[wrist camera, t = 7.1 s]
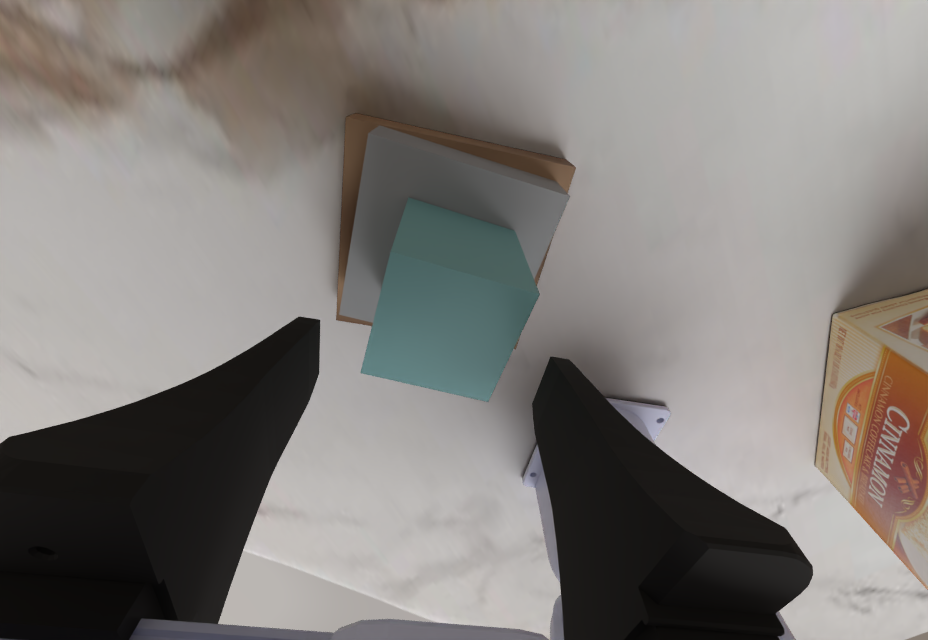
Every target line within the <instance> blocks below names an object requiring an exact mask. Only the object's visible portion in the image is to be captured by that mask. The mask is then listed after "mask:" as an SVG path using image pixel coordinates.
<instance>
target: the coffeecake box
mask: <svg viewBox="0 0 928 640" xmlns="http://www.w3.org/2000/svg"><path fill="white" fill-rule="evenodd" d="M815 467H816V468H818V469H819V470H820V472H821V473H822V474H823V475H824V476H825V477H826V478H827V479H828V480H829V481H830V482H831V484H832V485H833V486H834V487H835V488H836V489H837V490H838V491H839V492H840V494H841V495H842V496H843V497H844V498H845V499H846V500H847V501H848V502H849V503H850V504H851V506H852V507H853V508H854V509H855V510H856V511H857V512H858V513H859V514H860V515H861V517H862V518H863V519H864V520H865V521H866V522H867V523H868V524H869V525H870V527H871V528H872V529H873V530H874V531H875V532H876V533H877V534H878V535H879V536H880V538H881V539H882V540H883V541H884V542H885V543H886V544H887V545H888V546H889V548H890V549H891V550H892V551H893V552H894V553H895V554H896V555H897V556H898V558H899V559H900V560H901V561H902V562H903V563H904V564H905V565H906V567H907V568H908V569H909V570H910V571H911V572H912V573H913V574H914V575H915V576H916V578H917V579H918V580H919V581H920V582H921V583H922V584H923V585H924V586H925V588H926V589H927V590H928V289H926V290H923V291H920V292H916V293H913V294H909V295H906V296H902V297H897V298H893V299H888V300H884V301H880V302H875V303H871V304H867V305H863V306H860V307H857V308H853V309H850V310H846V311H842V312H839V313H835V314H834V315H833V318H832V325H831V334H830V343H829V352H828V359H827V368H826V377H825V386H824V394H823V403H822V412H821V420H820V429H819V438H818V446H817V454H816V462H815Z"/></svg>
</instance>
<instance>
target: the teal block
mask: <svg viewBox="0 0 928 640" xmlns="http://www.w3.org/2000/svg"><path fill="white" fill-rule="evenodd" d="M539 295H540V294H539V291H538V289H537V286H536V284H535V281H534V278H533V276H532V273H531V271H530V268H529V266H528V263H527V260H526V258H525V255H524V253H523V250H522V248H521V245H520V242H519V240H518V237H517V235H516V232H515V231H514V230H511V229H508V228H504V227H501V226H498V225H495V224H492V223H489V222H485V221H482V220H479V219H476V218H473V217H469V216H466V215H463V214H460V213H457V212H454V211H450V210H447V209H444V208H441V207H438V206H435V205H431V204H428V203H425V202H422V201H419V200H415V199H412V198H409V197H408V200H407V203H406V206H405V209H404V213H403V216H402V219H401V222H400V225H399V228H398V231H397V234H396V237H395V240H394V243H393V246H392V249H391V252H390V256H389V260H388V264H387V268H386V272H385V276H384V280H383V284H382V288H381V292H380V296H379V300H378V305H377V309H376V313H375V317H374V321H373V325H372V329H371V333H370V337H369V341H368V345H367V349H366V353H365V357H364V361H363V365H362V369H361V373H363V374H367V375H372V376H376V377H381V378H385V379H389V380H394V381H398V382H403V383H407V384H411V385H416V386H420V387H425V388H429V389H433V390H438V391H442V392H447V393H451V394H455V395H460V396H464V397H469V398H473V399H477V400H482V401H486V402H488V401H489V399H490V397H491V395H492V393H493V391H494V389H495V386H496V384H497V382H498V380H499V378H500V376H501V374H502V372H503V370H504V368H505V366H506V363H507V361H508V359H509V357H510V355H511V353H512V351H513V349H514V347H515V345H516V343H517V341H518V338H519V336H520V334H521V332H522V330H523V328H524V326H525V324H526V322H527V320H528V318H529V316H530V313H531V311H532V309H533V307H534V305H535V303H536V301H537V299H538V297H539Z"/></svg>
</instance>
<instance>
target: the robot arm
mask: <svg viewBox="0 0 928 640" xmlns="http://www.w3.org/2000/svg"><path fill="white" fill-rule="evenodd" d="M319 350H320V320H318V319H311V318H305V317H298V318H296V319H295V320H293V321H292V322H290V323H289V324H287V325H285V326H284V327H282V328H281V329H279V330H278V331H276V332H275V333H273V334H272V335H270V336H269V337H267V338H266V339H264V340H263V341H261V342H260V343H258V344H256V345H255V346H253V347H252V348H250V349H248V350H247V351H245V352H243V353H241V354H240V355H238V356H236V357H234V358H233V359H231V360H229V361H227V362H226V363H224V364H222V365H220V366H218V367H216V368H215V369H213V370H211V371H209V372H207V373H205V374H203V375H200V376H198V377H196V378H194V379H192V380H189V381H187V382H185V383H183V384H180V385H178V386H176V387H173V388H171V389H168V390H165V391H163V392H160V393H158V394H155V395H152V396H150V397H147V398H145V399H142V400H140V401H137V402H134V403H131V404H128V405H125V406H122V407H119V408H116V409H113V410H110V411H106V412H103V413H100V414H96V415H93V416H90V417H86V418H83V419H79V420H76V421H72V422H68V423H64V424H60V425H56V426H52V427H48V428H44V429H40V430H36V431H32V432H29V433H25V434H20V435H16V436H11V437H8V438H7V439H6V440H5V441H3V442H2V443H1V444H0V640H549V639H547V638H546V637H545V636H544V635H542V634H538V633H533V632H529V631H524V630H520V629H509V628H496V627H484V626H471V625H459V624H446V623H434V622H421V621H409V620H395V619H379V620H361V621H358V622H355V623H352V624H349V625H347V626H344V627H341V628H339V629H338V630H337V631H336V632H334V633H331V632H317V631H303V630H290V629H277V628H262V627H250V626H237V625H223V624H218V621H219V619H220V616H221V613H222V609H223V607H224V603H225V601H226V598H227V595H228V591H229V588H230V586H231V583H232V580H233V577H234V574H235V571H236V568H237V566H238V563H239V560H240V557H241V554H242V552H243V549H244V546H245V543H246V540H247V538H248V535H249V532H250V530H251V527H252V524H253V522H254V519H255V516H256V514H257V511H258V508H259V506H260V503H261V501H262V498H263V496H264V493H265V490H266V488H267V485H268V483H269V480H270V478H271V476H272V473H273V471H274V469H275V467H276V465H277V463H278V461H279V459H280V457H281V455H282V453H283V451H284V449H285V447H286V445H287V443H288V441H289V440H290V438H291V436H292V434H293V432H294V430H295V428H296V426H297V424H298V422H299V420H300V418H301V416H302V414H303V412H304V410H305V408H306V406H307V404H308V402H309V400H310V397H311V395H312V392H313V389H314V386H315V383H316V380H317V378H318V375H319ZM532 407H533V420H534V429H535V436H536V440H537V445H536V448H535V450H534V453H533V455H532V457H531V460H530V462H529V465H528V467H527V469H526V472H525V474H524V477H523V484H524V485H525V486H527V487H534V488H536V494H537V499H538V505H539V510H540V515H541V521H542V526H543V532H544V537H545V543H546V548H547V553H548V558H549V562H550V565H551V568H552V570H553V572H554V574H555V576H556V577H557V579H558V580H559V582H560V586H561V595H560V596H559V597H558V598H557V599H556V601H555V604H554V608H553V614H552V618H551V624H550V640H796V639H795V638H794V636H793V634H792V633H791V631H790V629H789V628H788V626H787V624H786V623H785V621H784V619H783V618H782V616H781V614H780V613H779V610H781V609H782V608H783V607H784V606H786V605H787V604H788V603H789V602H791V601H792V600H793V599H794V598H796V597H797V596H798V595H799V594H801V593H802V592H803V591H804V590H805V589H806V588H807V587H808V585H809V583H810V581H811V579H812V576H813V568H812V565H811V564H810V562H809V561H808V559H807V558H806V556H805V555H804V554H803V552H802V551H801V549H800V548H799V547H798V545H797V544H796V542H795V541H794V539H793V538H792V537H791V535H790V534H789V532H788V531H787V530H786V529H785V528H784V527H782V526H780V525H779V524H777V523H775V522H773V521H771V520H770V519H768V518H766V517H764V516H762V515H760V514H759V513H757V512H755V511H753V510H751V509H749V508H748V507H746V506H744V505H742V504H740V503H739V502H737V501H735V500H734V499H732V498H731V497H729V496H727V495H726V494H724V493H722V492H721V491H719V490H718V489H716V488H714V487H713V486H711V485H710V484H708V483H707V482H705V481H704V480H702V479H701V478H699V477H698V476H696V475H695V474H693V473H692V472H690V471H689V470H688V469H686V468H685V467H684V466H682V465H681V464H679V463H678V462H677V461H675V460H674V459H672V458H671V457H670V456H669V455H667V454H666V453H665V452H663V451H662V450H661V449H660V448H659V447H657V446H656V444H655V443H654V440H655V439H656V437H657V436H658V434H659V433H660V431H661V429H662V428H663V426H664V425H665V423H666V421H667V420H668V418H669V417H670V414H671V413H670V410H669V409H668V408H667V407H665V406H658V405H651V404H644V403H637V402H631V401H624V400H617V399H610V398H605V397H604V396H603V395H602V394H601V393H600V392H599V391H598V390H597V389H596V388H595V387H594V386H593V384H592V383H591V382H590V381H589V380H588V379H587V378H586V377H585V376H584V375H583V374H582V372H581V371H580V370H579V369H578V368H577V367H576V366H575V365H574V364H573V363H572V362H571V361H570V360H569V359H562V358H556V357H550V359H549V362H548V365H547V367H546V370H545V372H544V375H543V377H542V380H541V383H540V385H539V388H538V390H537V393H536V396H535V398H534V401H533V403H532Z"/></svg>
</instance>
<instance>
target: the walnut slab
mask: <svg viewBox="0 0 928 640" xmlns="http://www.w3.org/2000/svg"><path fill="white" fill-rule="evenodd" d="M378 126H383V127H387V128H390V129H393V130H396V131H399V132H402V133H405V134H409V135H412V136H415V137H418V138H421V139H424V140H428V141H431V142H434V143H437V144H440V145H443V146H446V147H450V148H453V149H456V150H459V151H462V152H465V153H468V154H472V155H475V156H478V157H481V158H484V159H487V160H490V161H494V162H497V163H500V164H503V165H506V166H509V167H512V168H516V169H519V170H522V171H525V172H528V173H531V174H534V175H538V176H541V177H544V178H547V179H550V180H553V181H556V182H558V183H559V185H560V186H561V187H562V188H563V189H564V190H565V191H566V192H567V193H568V190H569V187H570V184H571V181H572V178H573V175H574V172H575V169H576V167H575V166H574V165H572V164H571V163H570V162H569V161H567V160H566V159H561V158H557V157H552V156H548V155H543V154H539V153H534V152H530V151H525V150H521V149H516V148H512V147H507V146H502V145H498V144H493V143H489V142H484V141H480V140H475V139H471V138H466V137H462V136H457V135H453V134H448V133H444V132H439V131H434V130H430V129H425V128H421V127H416V126H412V125H407V124H403V123H398V122H394V121H389V120H385V119H380V118H376V117H371V116H366V115H362V114H357V113H355V114H352V115H350V116H347V117H346V123H345V144H344V166H343V187H342V209H341V230H340V252H339V273H338V294H337V316H336V320H339V321H345V322H351V323H357V324H363V325H369V326H372V325H373V323H372V322H368V321H364V320H359V319H355V318H351V317H347V316H343V315H339V312H340V306H341V300H342V293H343V287H344V281H345V275H346V269H347V263H348V256H349V250H350V244H351V238H352V232H353V225H354V219H355V213H356V207H357V201H358V194H359V188H360V182H361V176H362V170H363V163H364V157H365V151H366V145H367V139H368V133H369V132H371V131H372V130H374V129H375V128H377V127H378ZM552 238H553V237H552ZM551 241H552V239H551ZM550 244H551V242H550ZM550 244H549V246H548V249H547V251H546V253H545V256H544V258H543V260H542V263H541V265H540V267H539V270H538V272H537V274H536V277H535V279H534V281H535V284H536V286H537V283H538V280H539V277H540V274H541V271H542V268H543V265H544V262H545V259H546V256H547V253H548V250H549V247H550ZM520 335H521V334H520ZM519 338H520V336H519ZM519 338H518V341H519ZM518 341H517V343H516V345H515V347H514V349H516V347H517V344H518Z"/></svg>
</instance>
